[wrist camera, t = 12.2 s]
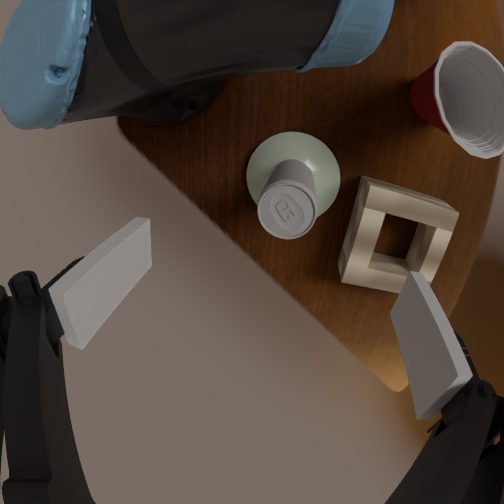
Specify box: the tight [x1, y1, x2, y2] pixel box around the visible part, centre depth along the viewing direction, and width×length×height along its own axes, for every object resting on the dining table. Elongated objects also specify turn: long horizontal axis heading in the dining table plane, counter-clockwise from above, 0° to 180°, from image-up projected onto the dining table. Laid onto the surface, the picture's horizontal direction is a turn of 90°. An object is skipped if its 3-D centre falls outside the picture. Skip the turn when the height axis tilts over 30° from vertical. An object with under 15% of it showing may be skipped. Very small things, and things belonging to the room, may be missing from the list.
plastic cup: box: [410, 41, 504, 159], centre depth 19 cm, size 11×11×12 cm
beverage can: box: [257, 159, 318, 239], centre depth 26 cm, size 5×5×12 cm
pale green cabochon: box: [247, 132, 340, 217], centre depth 32 cm, size 11×11×1 cm
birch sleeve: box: [338, 176, 459, 293], centre depth 31 cm, size 12×12×5 cm
